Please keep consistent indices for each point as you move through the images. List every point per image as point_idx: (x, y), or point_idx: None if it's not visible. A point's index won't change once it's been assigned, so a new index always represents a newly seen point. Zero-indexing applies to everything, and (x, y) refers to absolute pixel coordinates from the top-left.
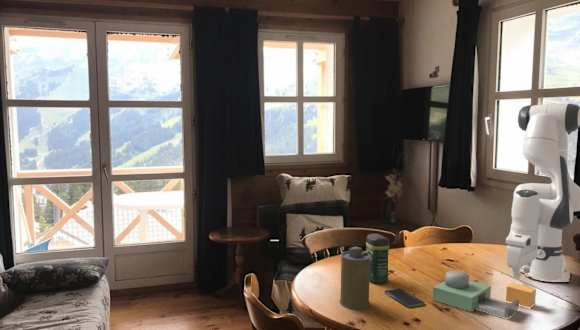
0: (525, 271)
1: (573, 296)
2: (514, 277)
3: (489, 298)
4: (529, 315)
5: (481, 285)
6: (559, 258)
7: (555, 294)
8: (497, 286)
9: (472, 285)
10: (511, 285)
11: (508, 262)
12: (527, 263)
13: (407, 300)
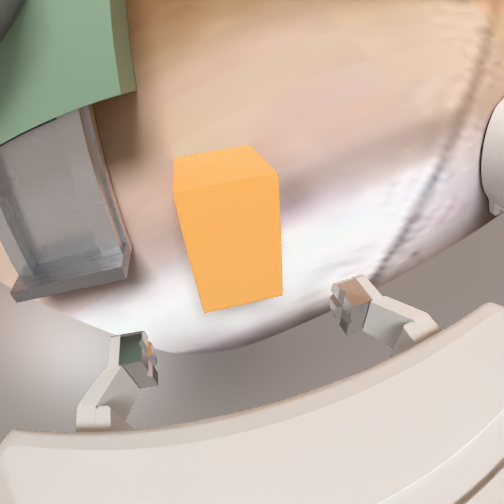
0: (338, 301)
1: (419, 263)
2: (113, 343)
3: (68, 136)
4: (135, 287)
5: (75, 56)
6: None
7: (412, 230)
8: (362, 32)
9: (28, 36)
10: (220, 198)
11: (1, 468)
12: (400, 332)
13: None
